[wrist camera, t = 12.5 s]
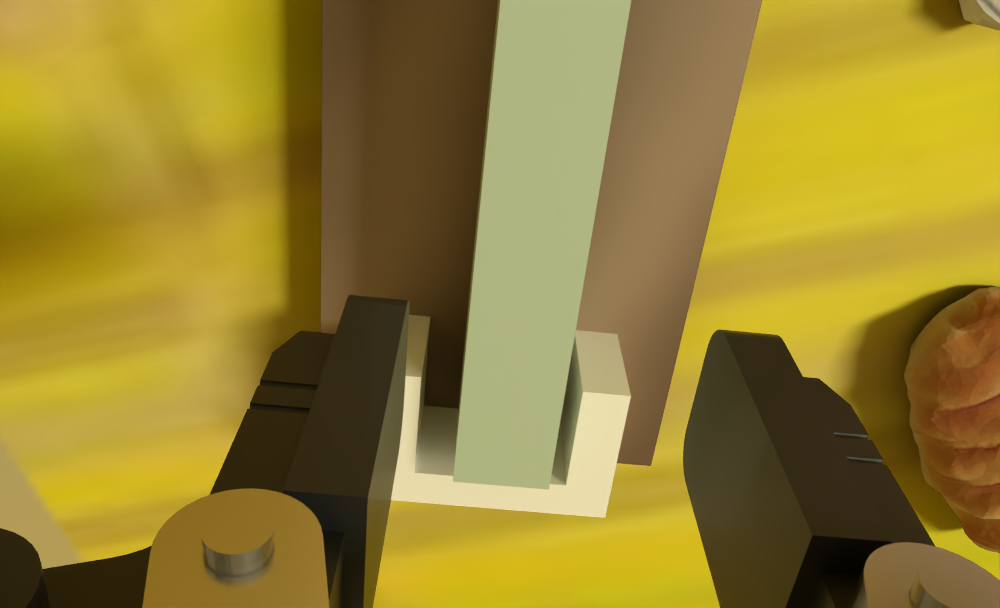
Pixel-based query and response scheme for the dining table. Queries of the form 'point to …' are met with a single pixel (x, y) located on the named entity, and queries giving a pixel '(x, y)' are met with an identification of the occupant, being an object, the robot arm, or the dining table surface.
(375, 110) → the board
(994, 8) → the packaged product
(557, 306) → the slat
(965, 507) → the pastry
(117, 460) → the dining table surface
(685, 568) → the dining table surface
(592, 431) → the cap
